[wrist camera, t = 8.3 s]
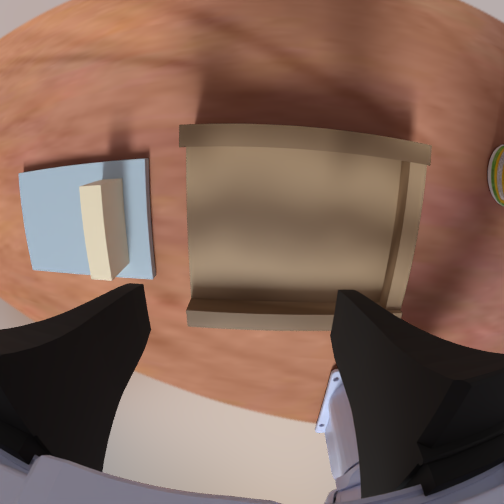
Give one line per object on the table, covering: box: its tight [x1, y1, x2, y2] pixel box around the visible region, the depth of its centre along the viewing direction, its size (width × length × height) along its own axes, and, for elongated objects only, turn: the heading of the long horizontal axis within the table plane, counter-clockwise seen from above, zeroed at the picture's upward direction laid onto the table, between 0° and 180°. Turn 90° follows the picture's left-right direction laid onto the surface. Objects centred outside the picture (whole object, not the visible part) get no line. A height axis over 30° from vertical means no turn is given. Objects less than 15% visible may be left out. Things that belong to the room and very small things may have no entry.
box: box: [179, 124, 432, 331], centre depth 18 cm, size 12×14×4 cm
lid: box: [19, 158, 156, 281], centre depth 18 cm, size 8×12×4 cm
